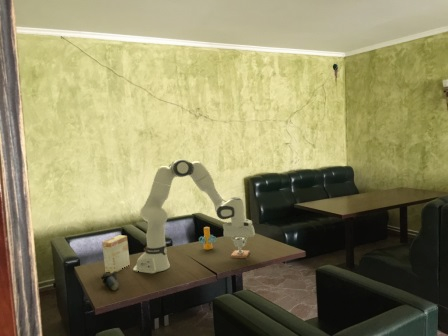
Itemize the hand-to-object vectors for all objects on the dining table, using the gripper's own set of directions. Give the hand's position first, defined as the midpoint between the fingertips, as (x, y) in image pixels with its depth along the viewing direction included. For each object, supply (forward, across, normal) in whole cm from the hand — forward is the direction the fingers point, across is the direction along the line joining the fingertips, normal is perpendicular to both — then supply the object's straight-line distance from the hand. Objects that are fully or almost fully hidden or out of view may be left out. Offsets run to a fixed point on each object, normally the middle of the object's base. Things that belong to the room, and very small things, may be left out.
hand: (239, 243), depth 239 cm
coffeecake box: (+8, -72, -30) cm, 79 cm away
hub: (+2, 0, 0) cm, 2 cm away
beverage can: (+8, -60, -55) cm, 82 cm away
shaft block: (+8, 0, 0) cm, 8 cm away
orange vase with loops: (+8, -26, +12) cm, 30 cm away
